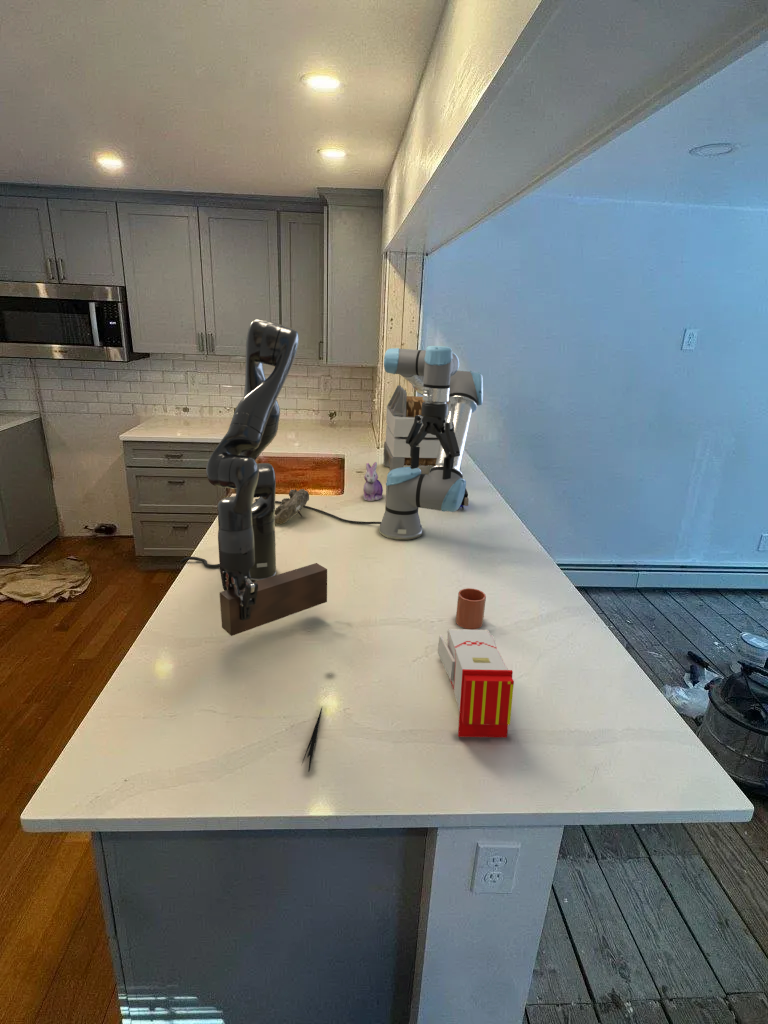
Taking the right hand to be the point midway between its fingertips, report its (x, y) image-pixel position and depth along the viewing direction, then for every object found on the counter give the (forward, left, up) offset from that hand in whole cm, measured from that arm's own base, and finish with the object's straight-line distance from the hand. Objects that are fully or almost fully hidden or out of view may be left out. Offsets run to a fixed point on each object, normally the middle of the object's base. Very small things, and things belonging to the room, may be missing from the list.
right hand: (430, 473), depth 170 cm
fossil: (-57, -13, -29) cm, 65 cm away
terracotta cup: (+34, -17, -29) cm, 48 cm away
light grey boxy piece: (-74, +70, -29) cm, 105 cm away
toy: (+53, -38, -29) cm, 71 cm away
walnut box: (+9, -58, -24) cm, 64 cm away
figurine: (-57, +26, -29) cm, 69 cm away
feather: (+41, -68, -29) cm, 84 cm away
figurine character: (-30, +49, -29) cm, 64 cm away
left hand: (+9, -68, -20) cm, 71 cm away
